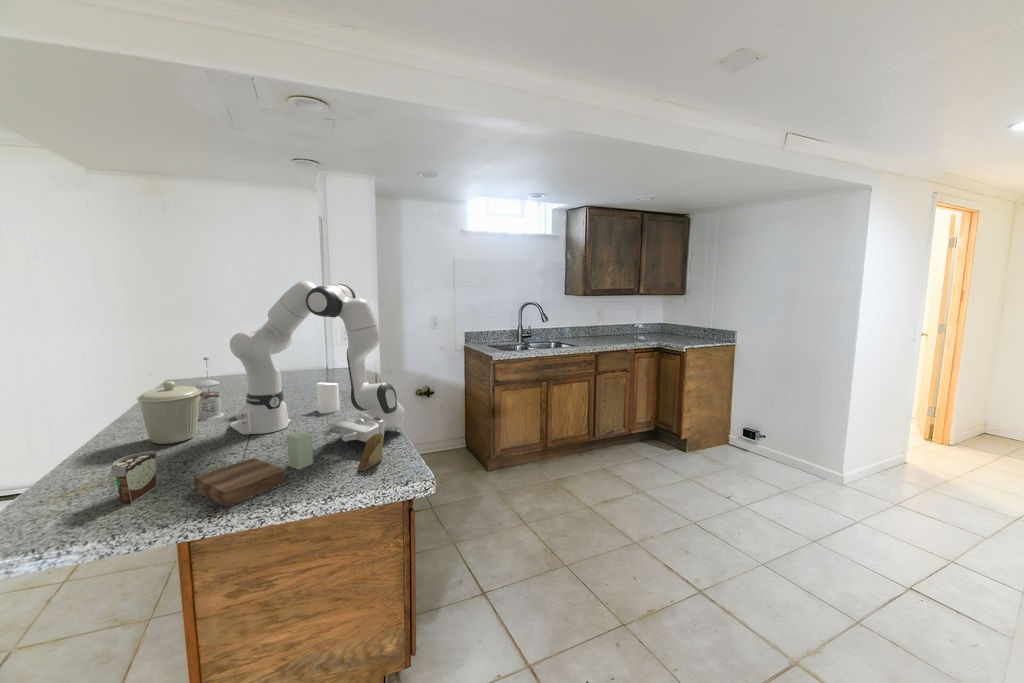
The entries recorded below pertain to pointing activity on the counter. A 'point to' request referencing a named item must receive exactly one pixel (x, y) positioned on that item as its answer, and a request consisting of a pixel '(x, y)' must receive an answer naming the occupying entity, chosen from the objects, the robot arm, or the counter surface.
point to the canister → (170, 412)
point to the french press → (209, 400)
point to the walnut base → (239, 481)
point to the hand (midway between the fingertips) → (333, 435)
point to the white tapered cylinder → (327, 397)
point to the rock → (372, 452)
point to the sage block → (300, 449)
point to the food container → (135, 475)
